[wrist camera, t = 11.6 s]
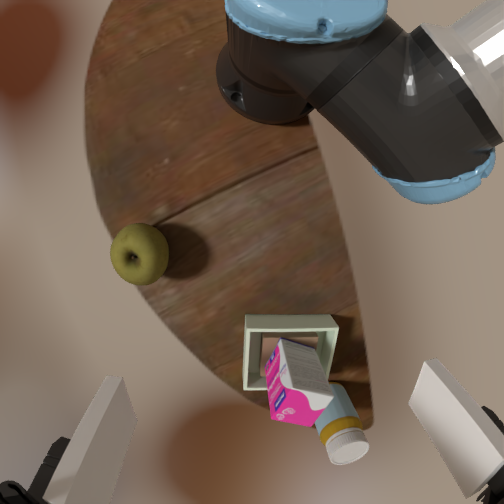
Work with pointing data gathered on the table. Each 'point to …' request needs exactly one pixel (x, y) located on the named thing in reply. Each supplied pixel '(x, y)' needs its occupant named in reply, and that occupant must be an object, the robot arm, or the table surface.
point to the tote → (285, 323)
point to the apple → (140, 254)
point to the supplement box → (296, 383)
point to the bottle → (341, 428)
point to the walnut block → (271, 340)
